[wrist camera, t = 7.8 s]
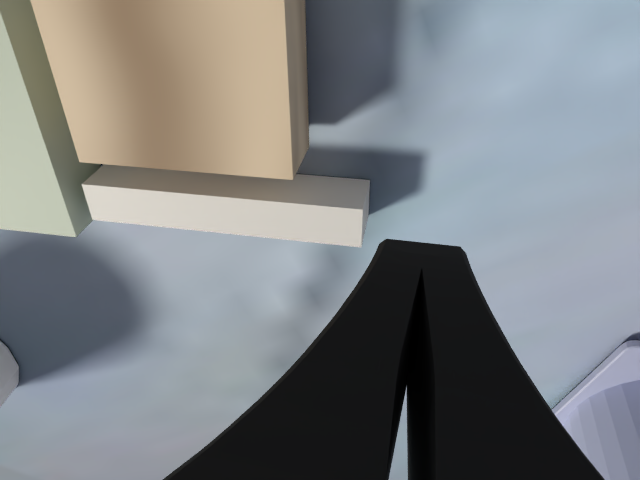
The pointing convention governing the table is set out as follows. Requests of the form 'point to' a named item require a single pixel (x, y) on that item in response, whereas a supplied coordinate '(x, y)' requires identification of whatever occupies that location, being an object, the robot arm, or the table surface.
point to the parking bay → (139, 171)
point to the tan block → (182, 82)
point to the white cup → (7, 373)
